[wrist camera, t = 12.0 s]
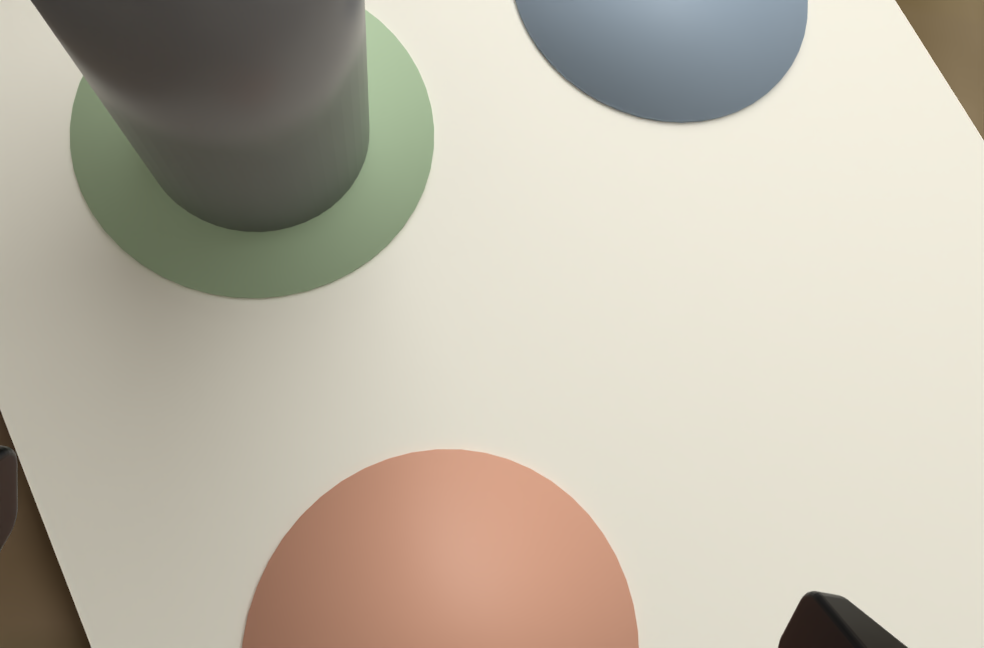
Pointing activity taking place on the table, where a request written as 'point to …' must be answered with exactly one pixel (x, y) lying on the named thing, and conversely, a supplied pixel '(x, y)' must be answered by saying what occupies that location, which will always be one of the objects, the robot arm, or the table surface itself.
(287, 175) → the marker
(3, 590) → the table surface
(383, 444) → the white square board
